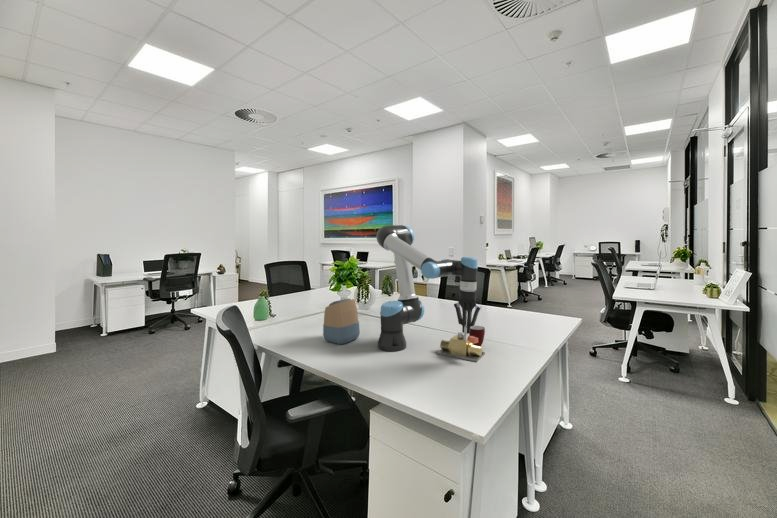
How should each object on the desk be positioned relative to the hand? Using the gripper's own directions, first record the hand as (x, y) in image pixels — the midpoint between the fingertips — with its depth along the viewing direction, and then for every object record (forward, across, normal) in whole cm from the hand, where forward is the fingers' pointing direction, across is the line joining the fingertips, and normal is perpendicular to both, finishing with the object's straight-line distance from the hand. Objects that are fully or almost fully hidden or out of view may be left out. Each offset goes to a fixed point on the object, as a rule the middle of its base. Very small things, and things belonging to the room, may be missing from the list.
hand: (466, 339), depth 160 cm
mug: (+9, -1, +19) cm, 21 cm away
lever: (+1, 0, +3) cm, 3 cm away
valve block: (+9, -4, +5) cm, 11 cm away
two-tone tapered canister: (+12, -70, -8) cm, 71 cm away
